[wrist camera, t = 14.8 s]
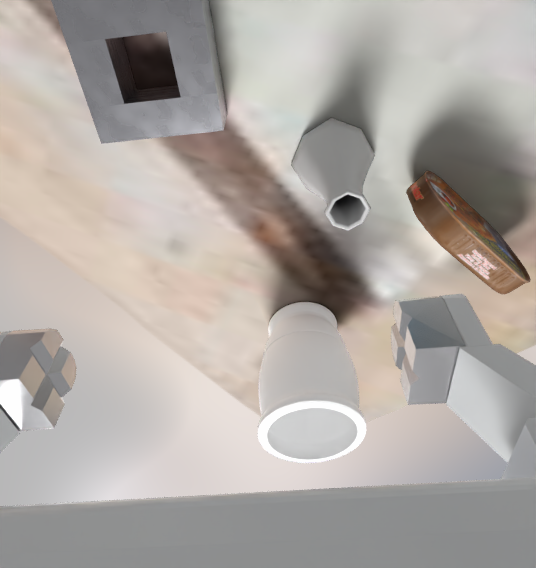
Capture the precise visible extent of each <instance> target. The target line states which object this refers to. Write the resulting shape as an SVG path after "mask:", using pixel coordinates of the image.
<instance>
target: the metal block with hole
mask: <svg viewBox="0 0 536 568" xmlns="http://www.w3.org/2000/svg"><path fill="white" fill-rule="evenodd" d="M51 1H52V3H53V6H54V9H55V12H56V15H57V18H58V21H59V24H60V26H61V29H62V32H63V35H64V38H65V41H66V44H67V46H68V49H69V52H70V55H71V58H72V61H73V64H74V66H75V69H76V72H77V75H78V78H79V81H80V84H81V87H82V89H83V92H84V95H85V98H86V101H87V104H88V107H89V109H90V112H91V115H92V118H93V121H94V124H95V127H96V129H97V132H98V135H99V138H100V141H101V144H102V143H112V142H121V141H130V140H139V139H149V138H158V137H167V136H176V135H185V134H195V133H204V132H213V131H222V130H224V126H225V122H226V118H227V110H226V104H225V98H224V92H223V86H222V79H221V73H220V67H219V61H218V55H217V48H216V42H215V36H214V30H213V24H212V17H211V11H210V5H209V0H51ZM158 32H166V33H167V37H168V42H169V46H170V51H171V56H172V60H173V65H174V69H175V74H176V78H177V83H178V85H175V86H166V87H158V88H149V89H140V90H137V89H136V85H135V82H134V78H133V74H132V71H131V67H130V64H129V60H128V56H127V53H126V49H125V46H124V42H123V38H122V37H126V36H134V35H142V34H150V33H158Z"/></svg>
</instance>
